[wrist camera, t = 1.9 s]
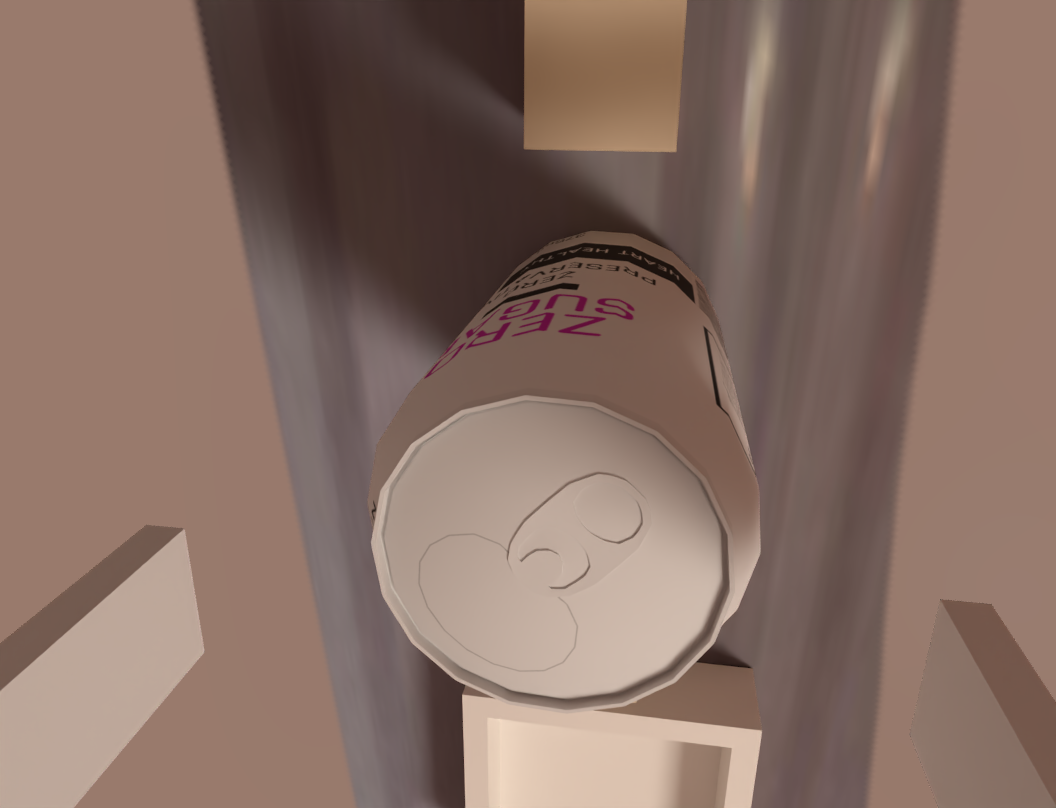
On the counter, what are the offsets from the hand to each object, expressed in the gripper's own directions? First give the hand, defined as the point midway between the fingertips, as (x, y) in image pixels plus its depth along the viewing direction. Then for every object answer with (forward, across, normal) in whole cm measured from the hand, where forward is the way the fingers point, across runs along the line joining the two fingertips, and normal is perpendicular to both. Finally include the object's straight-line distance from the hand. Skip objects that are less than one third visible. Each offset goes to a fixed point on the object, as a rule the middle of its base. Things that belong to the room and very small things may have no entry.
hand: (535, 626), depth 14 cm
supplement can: (+17, 0, 0) cm, 17 cm away
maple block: (+16, 0, +10) cm, 19 cm away
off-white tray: (+17, +1, -19) cm, 25 cm away
